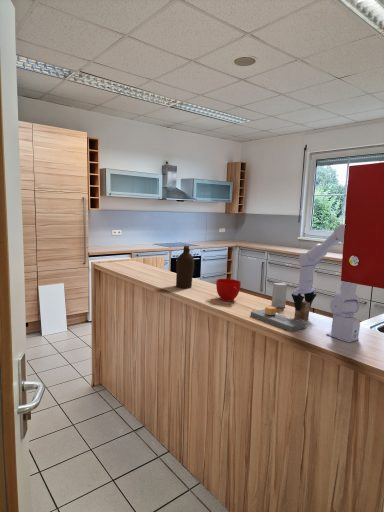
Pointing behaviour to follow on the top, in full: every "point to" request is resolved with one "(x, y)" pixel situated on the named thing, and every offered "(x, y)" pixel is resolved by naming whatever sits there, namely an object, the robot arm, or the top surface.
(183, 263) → the olive oil
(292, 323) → the switch board
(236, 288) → the ceramic cup
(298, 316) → the walnut pusher
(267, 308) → the switch tab
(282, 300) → the skincare box
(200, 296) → the top surface
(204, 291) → the top surface
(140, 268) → the top surface
